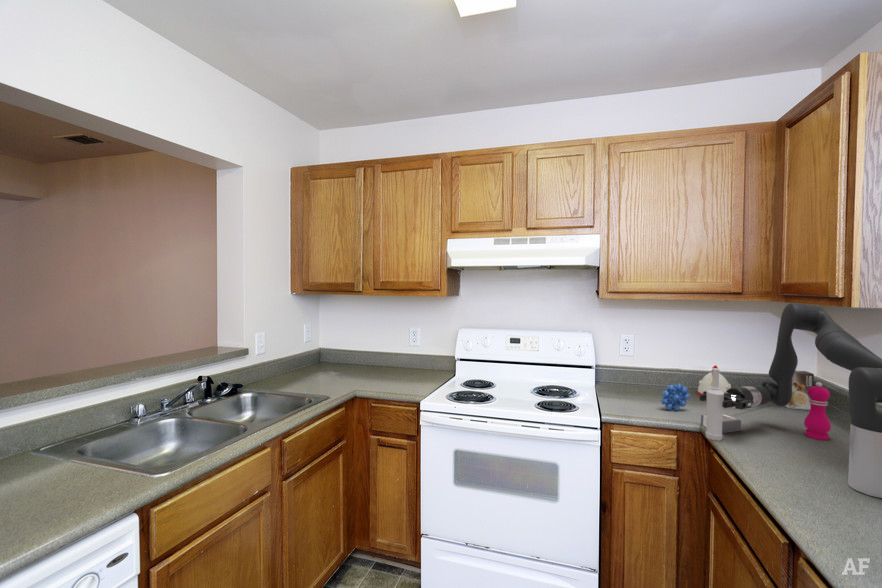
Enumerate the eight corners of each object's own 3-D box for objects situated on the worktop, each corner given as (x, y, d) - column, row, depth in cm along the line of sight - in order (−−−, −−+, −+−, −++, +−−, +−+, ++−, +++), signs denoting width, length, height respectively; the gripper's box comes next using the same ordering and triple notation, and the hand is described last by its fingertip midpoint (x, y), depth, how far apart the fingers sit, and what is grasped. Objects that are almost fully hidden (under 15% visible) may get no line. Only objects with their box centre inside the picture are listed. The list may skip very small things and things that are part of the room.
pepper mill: (801, 436, 148) (803, 381, 147) (805, 431, 153) (807, 378, 152) (828, 442, 143) (831, 385, 142) (832, 437, 147) (834, 382, 147)
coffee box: (805, 406, 184) (806, 370, 183) (813, 410, 178) (815, 374, 177) (781, 404, 187) (782, 369, 186) (788, 408, 180) (789, 372, 180)
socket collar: (740, 430, 154) (741, 420, 153) (722, 433, 151) (723, 422, 151) (718, 422, 162) (718, 412, 162) (700, 424, 159) (701, 414, 159)
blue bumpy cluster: (684, 407, 181) (685, 381, 180) (692, 412, 174) (692, 385, 173) (656, 407, 182) (657, 380, 181) (663, 411, 175) (664, 384, 175)
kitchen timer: (693, 395, 200) (694, 365, 199) (702, 390, 209) (703, 361, 209) (727, 402, 190) (728, 370, 189) (735, 396, 199) (736, 366, 198)
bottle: (706, 434, 150) (708, 366, 149) (723, 437, 147) (725, 368, 146) (704, 438, 146) (706, 369, 145) (721, 442, 143) (724, 371, 142)
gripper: (724, 382, 157) (693, 385, 152) (764, 392, 144) (732, 396, 138) (724, 401, 157) (693, 405, 152) (763, 413, 144) (731, 418, 139)
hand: (711, 401), depth 145 cm, fingers open, 8 cm apart
